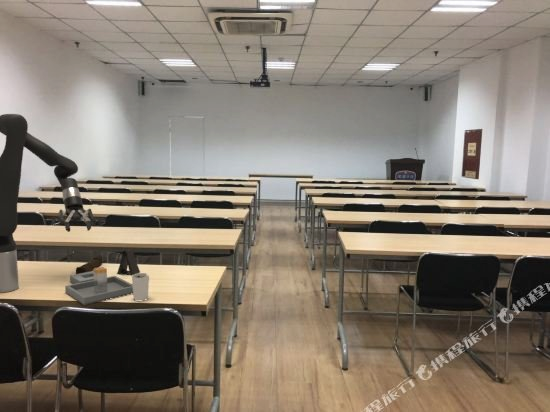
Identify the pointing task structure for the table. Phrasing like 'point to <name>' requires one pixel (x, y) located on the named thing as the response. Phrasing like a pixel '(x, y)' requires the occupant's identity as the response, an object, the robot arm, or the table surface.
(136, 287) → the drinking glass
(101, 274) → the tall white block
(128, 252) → the black a-frame stand
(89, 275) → the socket block
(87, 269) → the hand tool
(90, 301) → the tray
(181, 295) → the table surface
